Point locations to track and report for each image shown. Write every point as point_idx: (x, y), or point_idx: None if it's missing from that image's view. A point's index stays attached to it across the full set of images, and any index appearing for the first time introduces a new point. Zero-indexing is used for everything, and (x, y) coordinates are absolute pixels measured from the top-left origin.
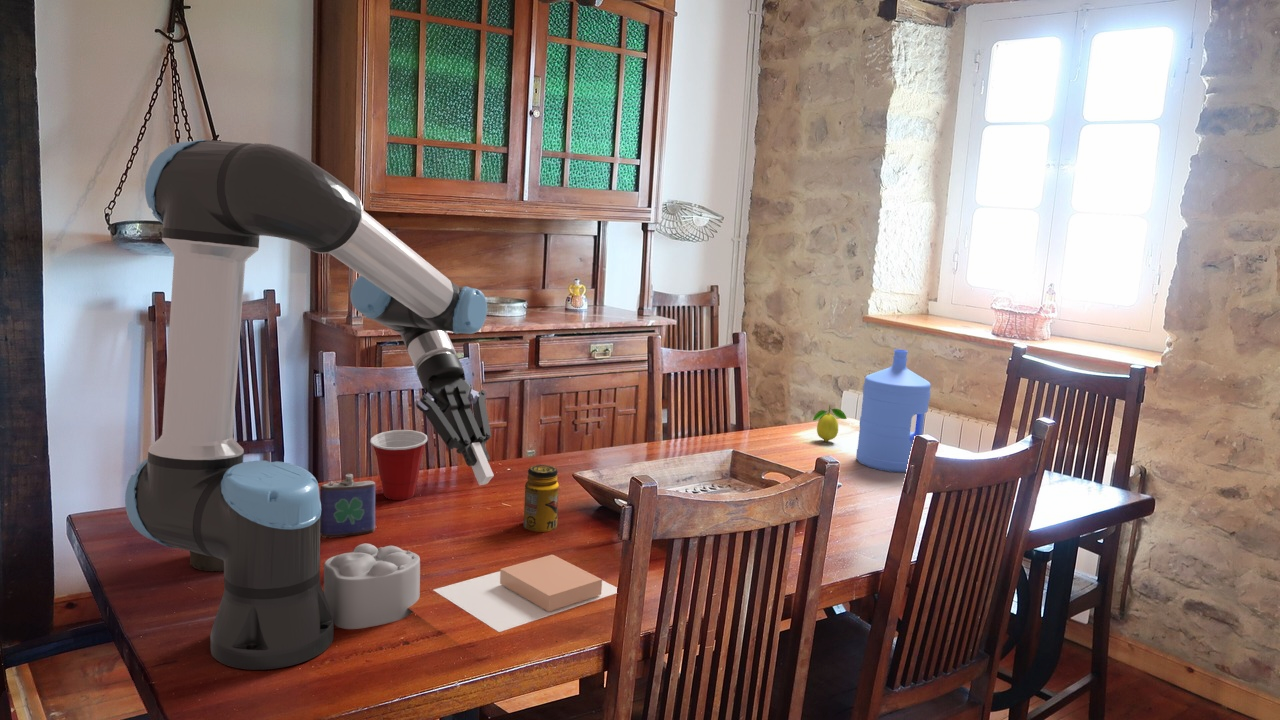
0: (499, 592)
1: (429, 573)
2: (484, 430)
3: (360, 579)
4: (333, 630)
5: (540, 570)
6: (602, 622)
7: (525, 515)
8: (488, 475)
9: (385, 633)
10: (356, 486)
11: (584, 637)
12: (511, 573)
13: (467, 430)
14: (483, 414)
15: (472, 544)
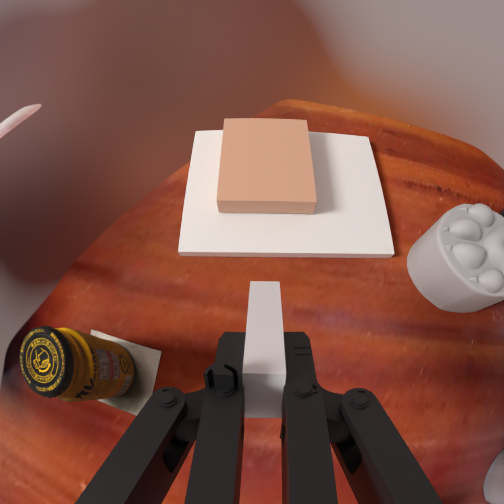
0: (325, 198)
1: (361, 331)
2: (171, 421)
3: (498, 214)
4: None
5: (271, 168)
6: (256, 115)
7: (121, 379)
8: (270, 283)
9: None
10: None
11: (291, 107)
12: (311, 182)
13: (239, 481)
14: (109, 497)
15: None
